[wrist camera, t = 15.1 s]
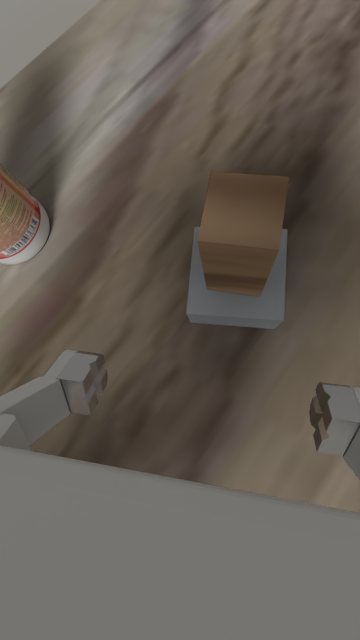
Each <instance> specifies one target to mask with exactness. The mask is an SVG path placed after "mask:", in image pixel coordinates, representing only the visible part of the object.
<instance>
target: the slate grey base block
mask: <svg viewBox="0 0 360 640" xmlns="http://www.w3.org/2000/svg"><path fill="white" fill-rule="evenodd" d="M199 230H200V227H194V238H193V248H192V258H191V269H190V279H189V290H188V300H187V310H186V314H187V316H188V318H189V320H190V322H191V323H201V324H215V325H228V326H242V327H255V328H269V329H275V328H276V327H278V326H279V325H280V324H281V323H282V322H283V321H284V311H285V284H286V256H287V229H282V233H281V240H280V247H279V251H278V254H277V256H276V259H275V261H274V264H273V266H272V269H271V271H270V274H269V276H268V279H267V281H266V284H265V286H264V289H263V291H262V294H261V296H260V297H257V296H250V295H243V294H236V293H229V292H222V291H215V290H208V289H207V287H206V282H205V277H204V272H203V267H202V262H201V257H200V252H199V247H198V242H197V240H198V235H199Z"/></svg>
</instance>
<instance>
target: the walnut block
mask: <svg viewBox="0 0 360 640" xmlns="http://www.w3.org/2000/svg"><path fill="white" fill-rule="evenodd" d="M288 184H289V177H287V176H272V175H258V174H243V173H229V172H214V171H211V174H210V179H209V184H208V189H207V194H206V199H205V205H204V210H203V215H202V220H201V225H200V230H199V235H198V240H197V242H198V247H199V252H200V257H201V262H202V267H203V272H204V277H205V282H206V287H207V289H208V290H215V291H222V292H229V293H236V294H243V295H250V296H257V297H260V296H261V294H262V291H263V289H264V286H265V284H266V281H267V279H268V276H269V274H270V271H271V269H272V266H273V264H274V261H275V259H276V256H277V254H278V251H279V247H280V240H281V233H282V226H283V219H284V212H285V205H286V198H287V191H288Z"/></svg>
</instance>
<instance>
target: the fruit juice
mask: <svg viewBox="0 0 360 640" xmlns="http://www.w3.org/2000/svg"><path fill="white" fill-rule="evenodd" d="M49 229H50V224H49V218H48V215H47V213H46V211H45V209H44V208H43V206H42V205H41V204H40V202H39V201H38V200H37V199H36V198H35V197H34V196H33V195H32V194H31V193H30V192H28V191H27V190H26V189H25V188H24V187H23V186H22V185H21V184H20V183H19V182H18V181H17V180H16V179H15V178H14V177H13V176H12V175H11V174H10V173H9V172H8V171H7V170H6V169H5V168H4V167H3V166H2V165H1V164H0V263H1V264H8V265H13V264H19V263H23V262H25V261H27V260H29V259H31V258H32V257H34V256H35V255H36V254H37V253H38V252H39V251H40V250H41V249H42V247H43V246H44V244H45V243H46V240H47V238H48V235H49Z"/></svg>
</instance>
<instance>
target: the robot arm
mask: <svg viewBox="0 0 360 640" xmlns="http://www.w3.org/2000/svg"><path fill="white" fill-rule="evenodd" d="M104 363H105V359H104V356H103V355H102V354H96V353H90V352H83V351H75V350H69V349H67V350H65V351H63V353H62V354H61V355H60V356H59V358H58V359H57V360H56V361H55V363H54V364H53V365H52V366H51V368H50V369H49V370H48V371H47V373H46V374H45V375H44V377H38V378H36V379H34V380H32V381H30V382H28V383H26V384H24V385H22V386H20V387H18V388H16V389H14V390H12V391H10V392H8V393H6V394H4V395H2V396H0V640H360V513H358V512H352V511H347V510H342V509H336V508H331V507H326V506H320V505H315V504H310V503H305V502H299V501H294V500H289V499H283V498H278V497H273V496H267V495H262V494H257V493H251V492H246V491H241V490H235V489H230V488H225V487H219V486H214V485H209V484H203V483H198V482H193V481H187V480H182V479H177V478H172V477H166V476H161V475H156V474H150V473H145V472H140V471H134V470H129V469H124V468H119V467H113V466H108V465H103V464H97V463H92V462H87V461H81V460H76V459H71V458H66V457H60V456H55V455H50V454H44V453H39V452H34V451H32V450H31V448H30V446H29V445H31V444H32V443H33V442H35V441H36V440H37V439H38V438H40V437H41V436H42V435H44V434H45V433H46V432H48V431H49V430H50V429H51V428H53V427H54V426H55V425H57V424H58V423H59V422H60V421H62V420H63V419H64V418H66V417H67V416H68V415H69V414H70V413H78V414H85V415H91V414H92V412H93V411H94V409H95V407H96V405H97V403H98V399H97V396H99V395H100V394H102V393H103V392H104V389H105V387H106V384H107V370H106V369H105V368H104V367H103V365H104ZM316 394H317V396H316V397H314V398H312V401H311V404H310V421H311V425H312V426H313V427H314V428H315V429H316V430H315V432H314V435H313V436H314V441H315V445H316V450H317V452H319V453H324V454H329V455H335V456H340V457H343V459H344V460H345V462H346V463H347V464H348V465H349V467H350V468H351V469H352V470H353V472H354V473H355V474H356V476H357V477H358V478H359V479H360V387H355V386H346V385H337V384H329V383H321V382H320V383H319V384H318V385H317V388H316Z"/></svg>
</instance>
